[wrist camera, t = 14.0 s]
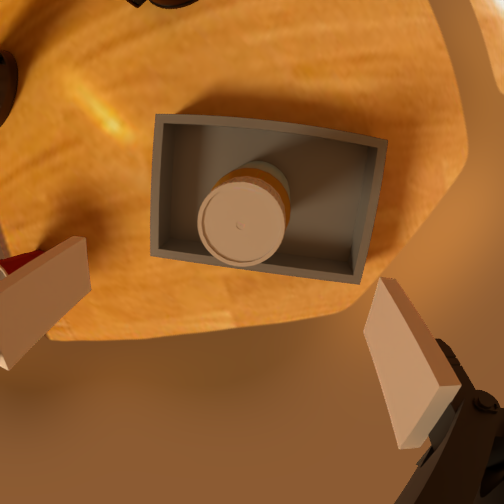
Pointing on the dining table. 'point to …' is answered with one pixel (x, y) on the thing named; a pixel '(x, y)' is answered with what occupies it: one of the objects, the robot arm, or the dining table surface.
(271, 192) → the bottle
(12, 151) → the dining table surface
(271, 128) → the crate
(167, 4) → the french press
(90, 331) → the dining table surface
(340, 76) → the dining table surface
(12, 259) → the plastic cup
